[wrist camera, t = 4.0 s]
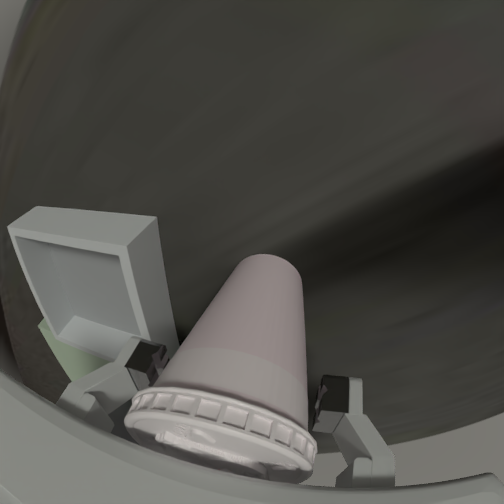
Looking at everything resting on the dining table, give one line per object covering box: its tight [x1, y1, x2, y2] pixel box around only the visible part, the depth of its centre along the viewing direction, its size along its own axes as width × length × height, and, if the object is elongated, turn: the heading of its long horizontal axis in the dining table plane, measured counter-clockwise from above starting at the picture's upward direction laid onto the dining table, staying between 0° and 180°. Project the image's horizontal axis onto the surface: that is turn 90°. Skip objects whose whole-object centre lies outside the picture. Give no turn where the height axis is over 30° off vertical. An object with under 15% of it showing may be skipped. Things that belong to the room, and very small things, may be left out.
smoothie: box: [124, 254, 317, 484], centre depth 10 cm, size 6×6×14 cm
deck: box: [7, 206, 180, 446], centre depth 19 cm, size 16×24×8 cm, turn 179°
